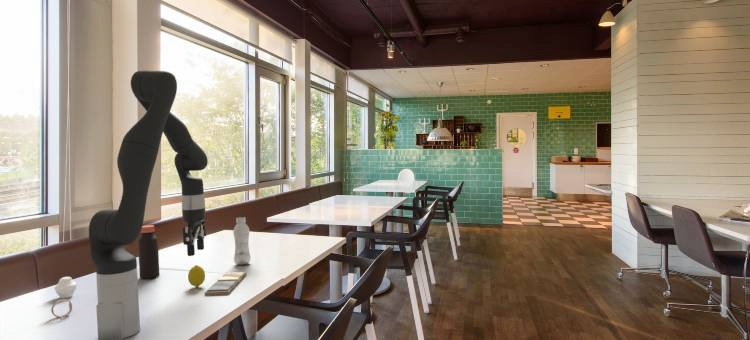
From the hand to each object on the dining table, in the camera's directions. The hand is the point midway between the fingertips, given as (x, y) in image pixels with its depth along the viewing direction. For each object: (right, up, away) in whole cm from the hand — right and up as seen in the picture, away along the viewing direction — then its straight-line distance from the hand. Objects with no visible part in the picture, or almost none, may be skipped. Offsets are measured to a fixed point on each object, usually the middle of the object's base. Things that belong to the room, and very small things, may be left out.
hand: (196, 252), depth 148 cm
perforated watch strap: (-30, -15, -24) cm, 41 cm away
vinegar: (-24, -13, +15) cm, 31 cm away
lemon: (0, -13, 0) cm, 13 cm away
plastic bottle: (+7, -11, +30) cm, 33 cm away
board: (+10, -12, +3) cm, 16 cm away
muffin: (-42, -14, -6) cm, 44 cm away
